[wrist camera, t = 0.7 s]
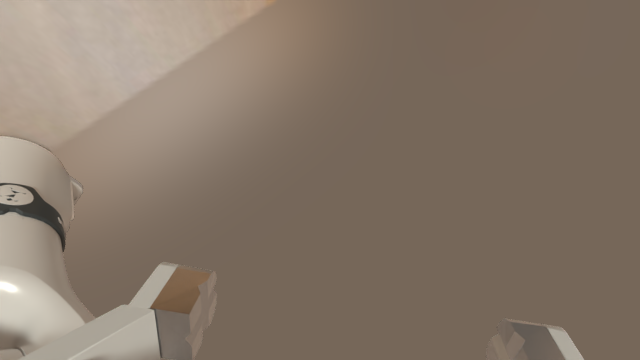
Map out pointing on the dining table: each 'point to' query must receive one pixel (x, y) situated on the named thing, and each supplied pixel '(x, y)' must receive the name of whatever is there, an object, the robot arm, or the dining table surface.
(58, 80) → the dining table surface
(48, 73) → the dining table surface
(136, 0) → the dining table surface
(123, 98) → the dining table surface
